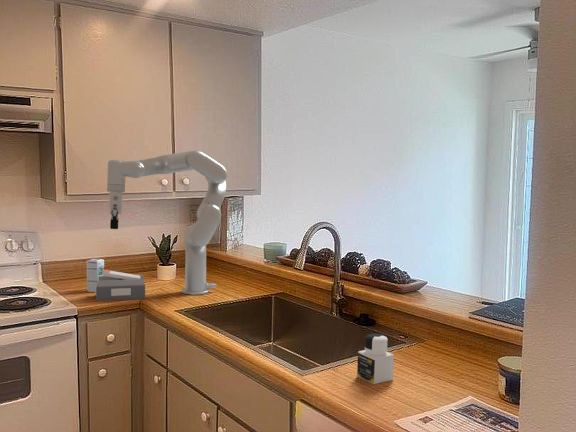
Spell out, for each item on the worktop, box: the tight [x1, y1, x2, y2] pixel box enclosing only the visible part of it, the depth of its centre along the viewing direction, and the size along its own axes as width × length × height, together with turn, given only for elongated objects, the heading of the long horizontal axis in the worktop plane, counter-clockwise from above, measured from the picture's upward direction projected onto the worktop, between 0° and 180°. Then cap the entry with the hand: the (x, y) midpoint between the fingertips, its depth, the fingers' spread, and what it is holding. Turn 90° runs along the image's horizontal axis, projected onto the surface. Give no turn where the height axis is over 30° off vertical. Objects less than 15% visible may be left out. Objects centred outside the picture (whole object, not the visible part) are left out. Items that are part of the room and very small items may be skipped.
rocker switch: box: [102, 268, 140, 280], centre depth 238 cm, size 16×7×2 cm, turn 108°
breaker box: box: [95, 274, 146, 302], centre depth 239 cm, size 20×12×8 cm, turn 107°
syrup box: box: [86, 258, 105, 293], centre depth 249 cm, size 6×6×14 cm
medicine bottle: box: [356, 333, 395, 385], centre depth 149 cm, size 7×7×12 cm
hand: (114, 227), depth 237 cm, fingers open, 9 cm apart
